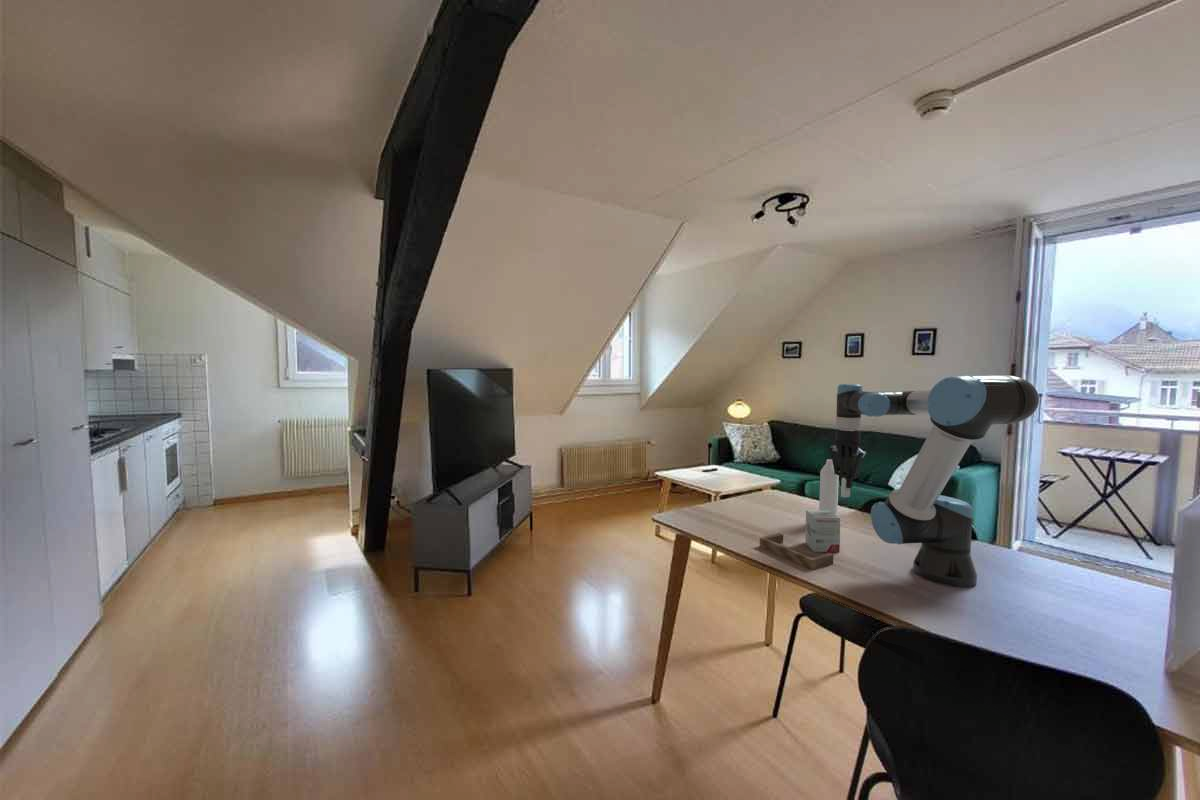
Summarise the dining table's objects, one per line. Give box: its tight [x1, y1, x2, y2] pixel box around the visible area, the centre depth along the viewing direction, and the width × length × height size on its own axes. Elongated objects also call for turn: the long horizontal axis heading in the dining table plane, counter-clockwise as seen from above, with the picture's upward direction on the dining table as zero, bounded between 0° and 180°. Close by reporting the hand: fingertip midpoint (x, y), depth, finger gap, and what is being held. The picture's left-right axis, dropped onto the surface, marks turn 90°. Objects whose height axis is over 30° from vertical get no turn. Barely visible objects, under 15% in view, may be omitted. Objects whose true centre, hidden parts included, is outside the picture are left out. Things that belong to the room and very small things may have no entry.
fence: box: [759, 532, 835, 571], centre depth 155 cm, size 21×10×3 cm, turn 27°
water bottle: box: [818, 458, 840, 516], centre depth 183 cm, size 9×6×25 cm
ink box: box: [805, 509, 841, 553], centre depth 161 cm, size 9×9×12 cm
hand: (845, 496), depth 166 cm, fingers closed
